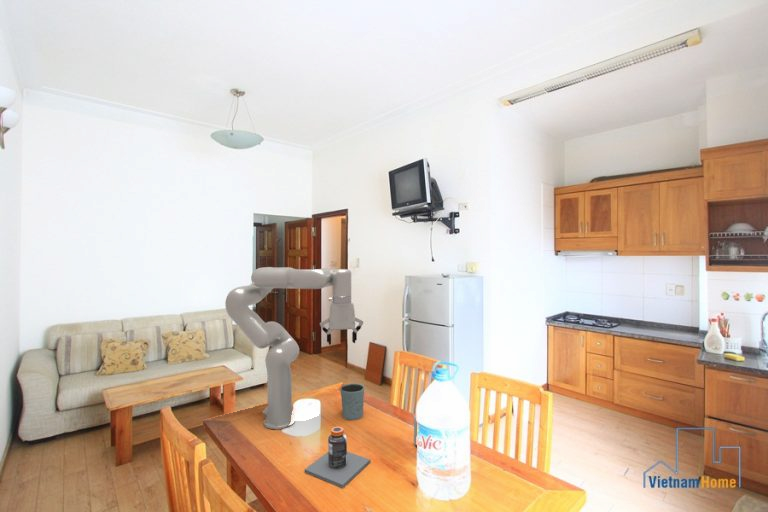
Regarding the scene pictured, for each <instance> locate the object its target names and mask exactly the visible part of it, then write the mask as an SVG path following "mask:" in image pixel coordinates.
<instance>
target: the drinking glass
mask: <svg viewBox="0 0 768 512" xmlns="http://www.w3.org/2000/svg"><path fill="white" fill-rule="evenodd" d="M364 394H365V386H364V385H363V384H360V383H353V382H352V383H347V384H346V383H345V384H343V385H342V386H340V396H341V407H342V411H341V412H342V417H343V418H344V419H345V420H348V421H356V420H360V419H362V417H363V415H364V401H365V400H364V396H365V395H364Z"/></svg>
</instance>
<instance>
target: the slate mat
mask: <svg viewBox="0 0 768 512" xmlns="http://www.w3.org/2000/svg"><path fill="white" fill-rule="evenodd" d="M369 464H371V459H370V458H367V457H364V456H361V455H359V454H355V453H353V452H350V451H347V464H346V465H345V466H344V467H342V468H339V469H334V468H331V467H330V466H329V464H328V451H327V452H325V453H324V454H322V455H321V456H320V457H319V458H318V459H316V460H315V461H313V462H312V463H311V464H310V465H308V466H307V467H305V468H304V473H305V474H307V475H309V476H312V477H314V478H317V479H319V480H322V481H324V482H327V483H330V484H332V485H334V486H337V487H339V488H342V489H344V488H345V487H346V486H347V485H348V484H349V483H350V482H351V481H352V480H353V479H354V478H355V477H356V476H358V475H359V474H360V472H362V471H363V470H365V468H366V467H367V466H368V465H369Z"/></svg>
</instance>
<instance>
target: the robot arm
mask: <svg viewBox="0 0 768 512" xmlns="http://www.w3.org/2000/svg"><path fill="white" fill-rule="evenodd" d="M250 280H251V283H250V284H249V285H243V286H239V287H235V288H233V289H232V290H230V291H229V292H228V294H227V296H226V297H225V298H226V299H225V303H224V304H225V310H226V313H227V314H228V316H229V317H230V319H231V320H232V321H233V322H234V323H235V324H236V325H237V326H238V328H239V329H240V330H241V331H242V332H243V333H244V334H245V336H246V337H247V338H248V339H249V340H250V341H251V343H252V344H253V345H254V346H255V347H257V348H258V349H261V350H262V349H266V348H269V347H271V348H270V349H269V350H268V352H267V353H266V355H265V360H264V361H265V367H266V375H267V376H266V377H267V406H266V407H265V408H264V410H262V412H261V413H262V414H263V415H265V418H264V420H263V426H264V427H265V428H267V429H270V430H281V429H286V428H288V427H287V426H288V425H289V424H290V422H291V415H292V414H293V411H292V409H293V406H292V405H293V397H292V395H293V394H292V393H293V390H292V389H293V386H292V385H293V380H292V379H293V376H292V371H291V363H293V362H294V361H295V360H296V359H297V358H298V357H299V355H300V347H299V345H298V343H297V341H296V340H295V339H294V338H293V337H292V335H290V334H289V332H288V331H287V330H286V328H285V327H283V325H282V324H280V323H278V322H277V321H272V320H271V321H267V322H265V321H264V320H263V319H262V318H261V317H260V316H259V315H258V313H257V312H256V311H255V310H252V309H251V308H250V307H249V306H252V305H253V306H254V305H256V304H258V303H259V302H261V301H262V300H263V299H264V298H265V297H267V295H269V293H271V292H272V291H273V290H274V289H292V290H293V289H295V290H296V289H299V290H319V289H323V288H327V287H332V289H331V290H332V293H331V294H332V295H331V297H328V302H331V303H330V307H329V314H328V318H326V319H325V320H323V321H321V322H319V326H320V327H321V330H322V331H323V332H324V333H326V343H328V345H329V346H330V345H332V334H331V333H332V331H342V330H352V332H351V333H352V334H351V335H352V336H351V341H352V343H354V344H356V341H357V338H358V337H357V336H358V332H359V331H360V330H361V329H362V326H363V324H364V321H363V320H362V319H360V318H357V317H356V313H355V312H356V311H355V305H354V303H353V302H352V272H351V270H350V269H347V268H337V269H336V268H335V269H332V268H326V267H325V268H318V269H317V268H316V269H315V268H314V269H297V268H293V267H291V266H289V267H288V266H287V267H273V266H267V267H258V268H257V269H255V270H254V271H253V272H252V273H251V277H250ZM356 323H358V325H357V326H356ZM326 324H328V326H329V327H328V328H327V327H325V325H326ZM285 427H286V428H285Z"/></svg>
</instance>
